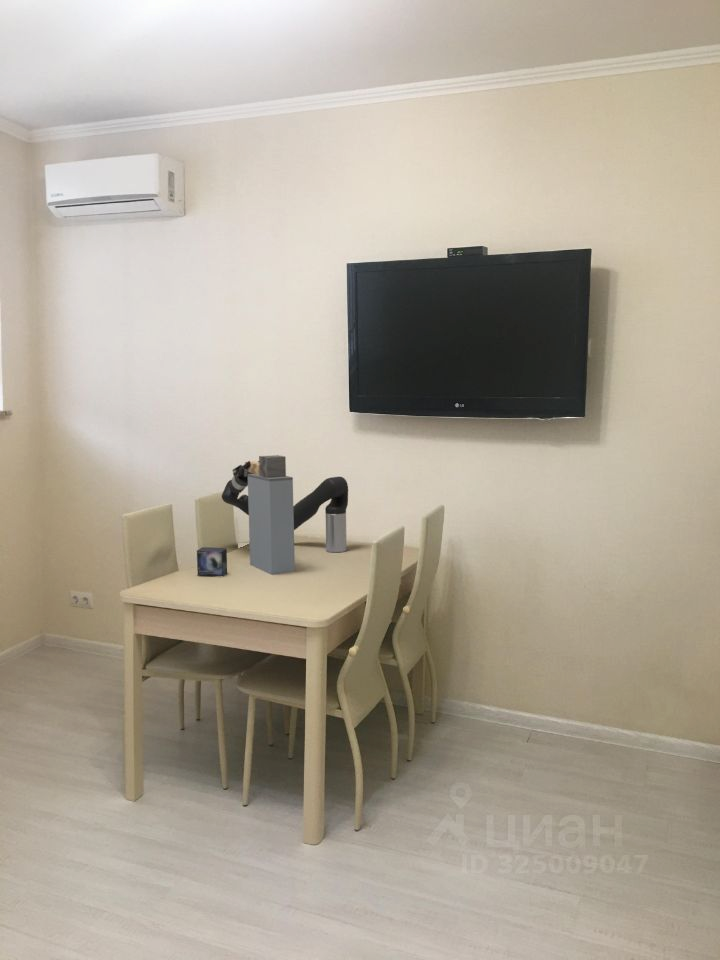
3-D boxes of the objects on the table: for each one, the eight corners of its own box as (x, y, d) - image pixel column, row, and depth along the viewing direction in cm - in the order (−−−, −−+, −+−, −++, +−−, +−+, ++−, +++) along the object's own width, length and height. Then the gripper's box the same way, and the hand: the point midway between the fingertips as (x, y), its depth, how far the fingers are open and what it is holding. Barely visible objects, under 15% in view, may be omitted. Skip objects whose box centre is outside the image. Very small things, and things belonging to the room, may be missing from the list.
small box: (196, 576, 320) (195, 550, 319) (202, 572, 327) (201, 546, 325) (222, 577, 318) (221, 550, 317) (228, 573, 325) (227, 547, 323)
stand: (250, 564, 340) (247, 474, 335) (272, 561, 345) (269, 472, 340) (271, 574, 321) (269, 479, 317) (294, 571, 326) (292, 477, 322)
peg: (240, 471, 346) (240, 452, 345) (258, 470, 349) (257, 451, 349) (267, 477, 320) (266, 457, 320) (285, 476, 324) (285, 456, 323)
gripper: (259, 485, 358) (272, 470, 344) (228, 487, 351) (240, 472, 337) (256, 469, 360) (269, 454, 346) (225, 471, 353) (237, 455, 339)
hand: (254, 463), depth 342 cm, fingers closed on peg, 4 cm apart
